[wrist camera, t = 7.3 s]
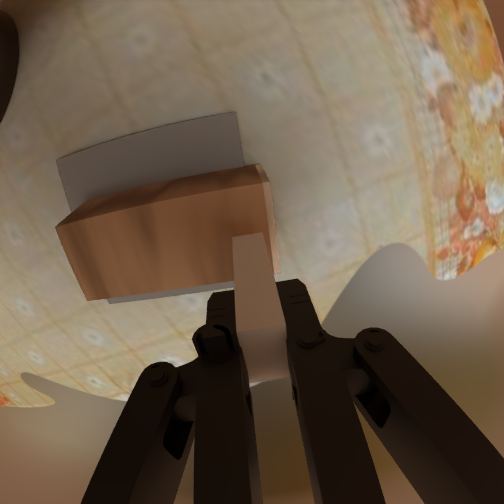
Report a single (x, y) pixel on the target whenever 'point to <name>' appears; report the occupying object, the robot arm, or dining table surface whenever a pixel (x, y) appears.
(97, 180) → the mat
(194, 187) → the walnut block
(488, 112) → the dining table surface
